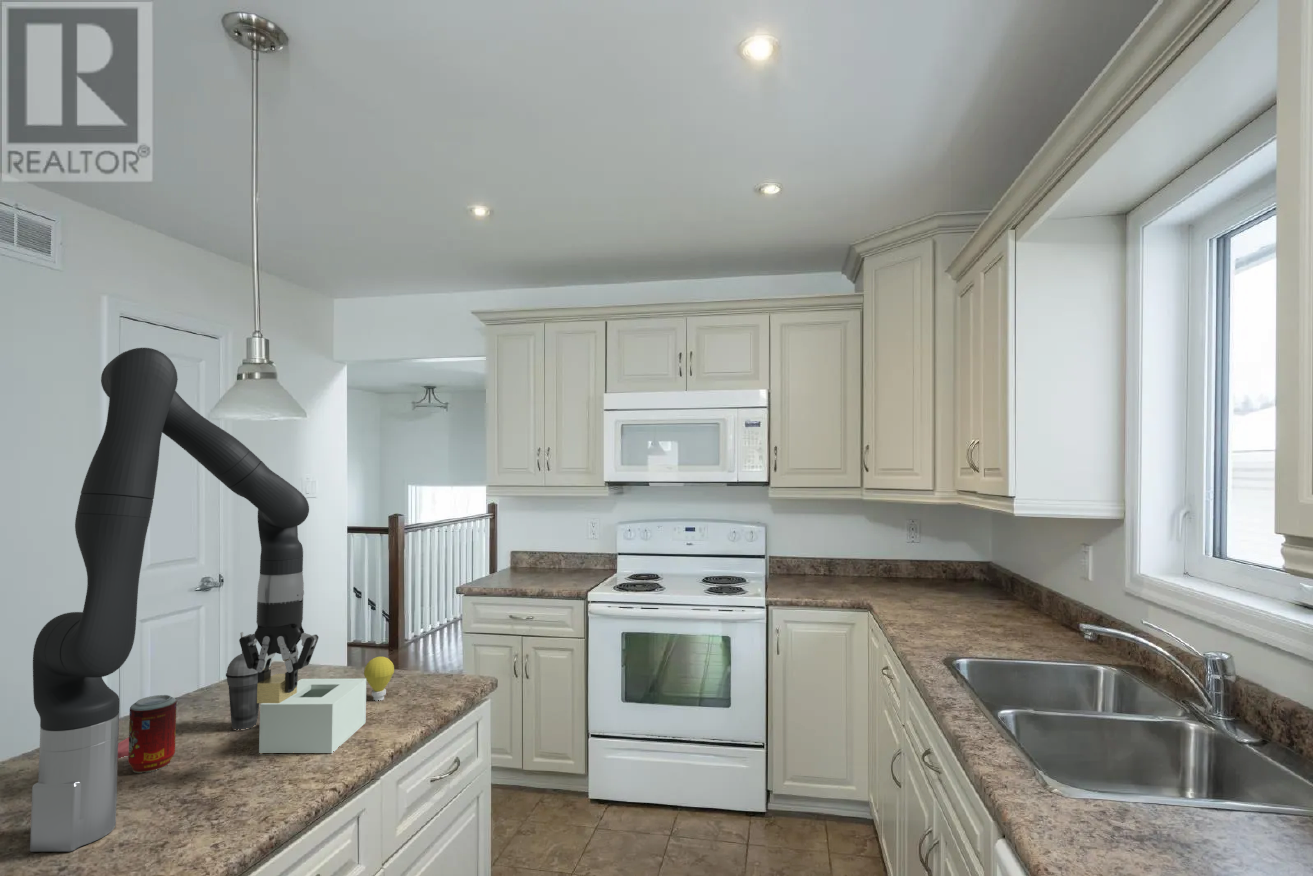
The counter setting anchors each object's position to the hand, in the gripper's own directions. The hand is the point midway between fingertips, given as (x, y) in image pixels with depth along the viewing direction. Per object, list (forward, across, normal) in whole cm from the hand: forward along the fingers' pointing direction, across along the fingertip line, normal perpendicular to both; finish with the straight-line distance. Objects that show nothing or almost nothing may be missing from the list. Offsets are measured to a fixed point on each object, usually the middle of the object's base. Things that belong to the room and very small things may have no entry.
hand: (277, 691), depth 126 cm
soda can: (+15, -24, +2) cm, 28 cm away
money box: (+14, 0, +16) cm, 21 cm away
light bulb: (+14, +4, +38) cm, 41 cm away
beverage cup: (+14, -18, +21) cm, 32 cm away
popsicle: (+15, -34, +13) cm, 40 cm away
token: (+1, 0, 0) cm, 1 cm away
